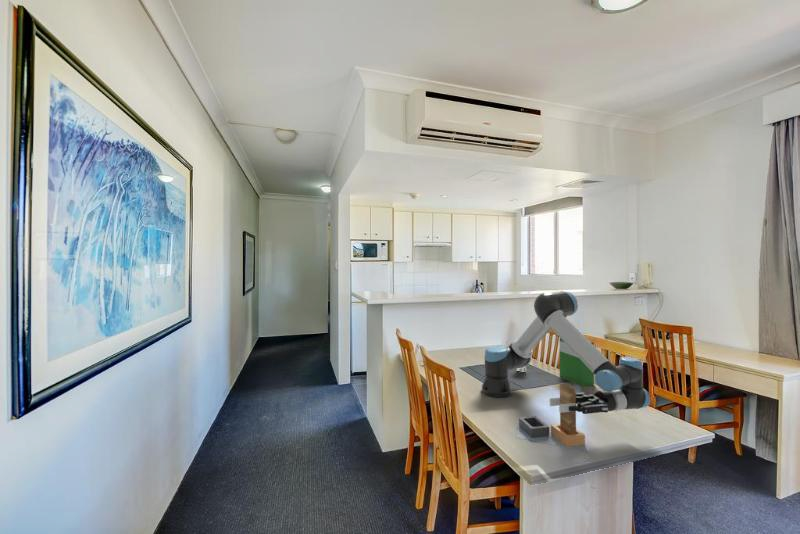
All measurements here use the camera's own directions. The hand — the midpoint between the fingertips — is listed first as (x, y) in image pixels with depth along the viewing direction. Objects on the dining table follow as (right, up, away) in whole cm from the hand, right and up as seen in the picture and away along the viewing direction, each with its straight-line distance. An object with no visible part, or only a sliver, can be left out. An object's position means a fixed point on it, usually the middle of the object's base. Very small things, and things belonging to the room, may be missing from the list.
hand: (555, 405), depth 126 cm
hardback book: (+43, -13, +66) cm, 80 cm away
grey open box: (-5, -13, +7) cm, 16 cm away
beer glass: (+18, -13, +83) cm, 86 cm away
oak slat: (+5, -9, +1) cm, 10 cm away
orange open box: (+5, -13, +1) cm, 14 cm away
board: (0, -14, +4) cm, 15 cm away
